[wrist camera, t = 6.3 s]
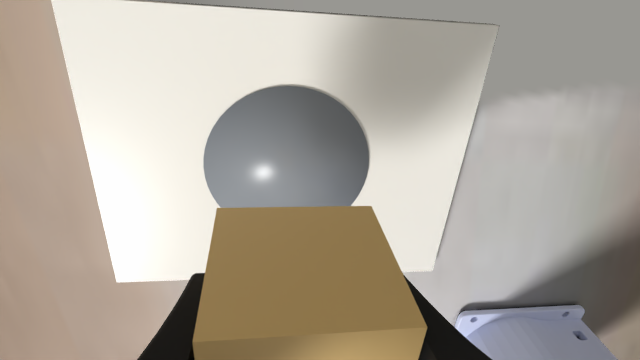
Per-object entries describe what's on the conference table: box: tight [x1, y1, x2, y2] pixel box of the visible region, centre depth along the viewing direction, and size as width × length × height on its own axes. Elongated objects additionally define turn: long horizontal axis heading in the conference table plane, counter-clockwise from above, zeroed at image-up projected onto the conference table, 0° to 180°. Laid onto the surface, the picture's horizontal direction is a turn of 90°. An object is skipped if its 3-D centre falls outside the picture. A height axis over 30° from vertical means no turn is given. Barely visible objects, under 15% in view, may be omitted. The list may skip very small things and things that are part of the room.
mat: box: [51, 0, 499, 282], centre depth 19 cm, size 18×14×1 cm
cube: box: [192, 206, 427, 360], centre depth 12 cm, size 5×5×5 cm
